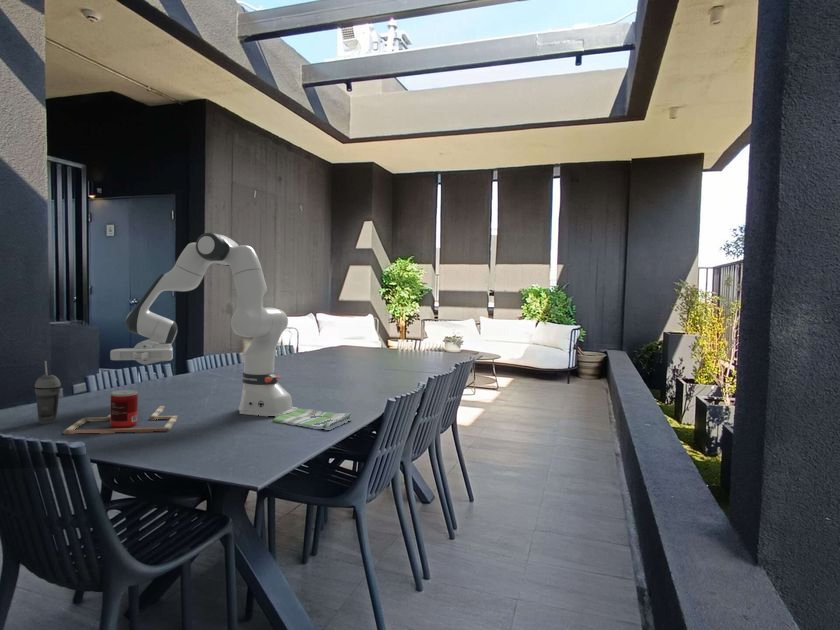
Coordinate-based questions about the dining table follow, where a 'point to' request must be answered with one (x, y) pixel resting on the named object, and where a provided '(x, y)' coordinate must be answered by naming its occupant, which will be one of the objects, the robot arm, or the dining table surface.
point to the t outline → (153, 417)
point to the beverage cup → (47, 397)
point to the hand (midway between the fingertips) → (137, 356)
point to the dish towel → (304, 418)
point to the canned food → (124, 408)
